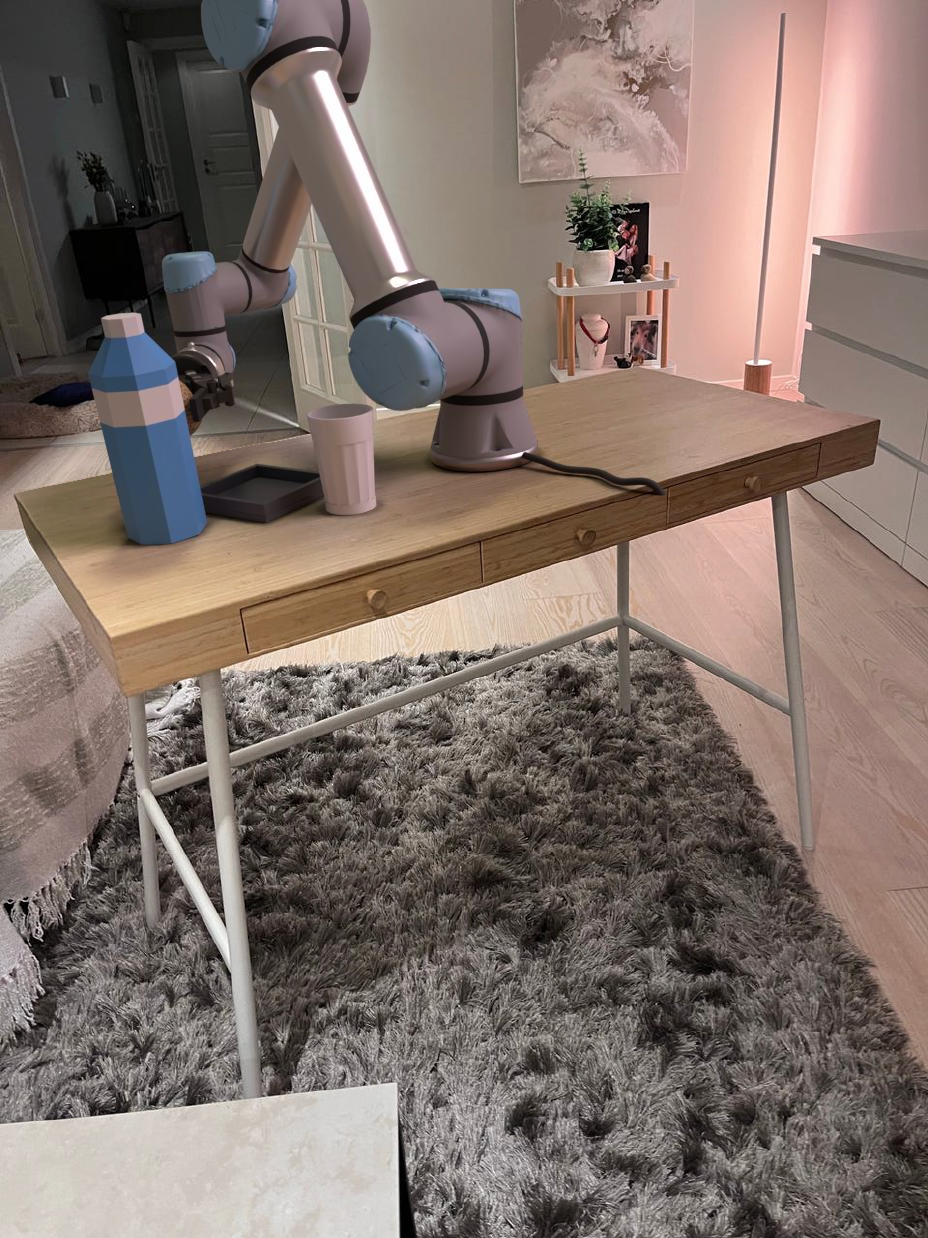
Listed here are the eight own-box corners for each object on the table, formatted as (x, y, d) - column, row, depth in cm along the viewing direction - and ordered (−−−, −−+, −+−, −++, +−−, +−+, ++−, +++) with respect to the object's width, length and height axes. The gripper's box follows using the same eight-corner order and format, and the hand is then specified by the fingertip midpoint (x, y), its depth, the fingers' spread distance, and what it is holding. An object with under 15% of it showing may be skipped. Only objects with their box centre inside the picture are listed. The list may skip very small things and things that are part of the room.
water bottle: (125, 524, 116) (75, 315, 104) (202, 511, 118) (161, 305, 107) (130, 551, 108) (76, 327, 96) (212, 536, 111) (168, 316, 99)
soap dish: (335, 490, 124) (333, 473, 123) (266, 522, 114) (263, 504, 113) (258, 479, 131) (256, 463, 130) (187, 509, 120) (183, 492, 119)
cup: (378, 493, 122) (369, 400, 117) (387, 512, 115) (377, 414, 109) (317, 501, 120) (304, 407, 115) (321, 520, 113) (308, 422, 108)
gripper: (108, 355, 130) (52, 388, 110) (265, 344, 131) (239, 375, 110) (120, 409, 133) (68, 451, 113) (273, 398, 134) (249, 437, 114)
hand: (152, 413), depth 112 cm, fingers closed on natural sponge, 9 cm apart
